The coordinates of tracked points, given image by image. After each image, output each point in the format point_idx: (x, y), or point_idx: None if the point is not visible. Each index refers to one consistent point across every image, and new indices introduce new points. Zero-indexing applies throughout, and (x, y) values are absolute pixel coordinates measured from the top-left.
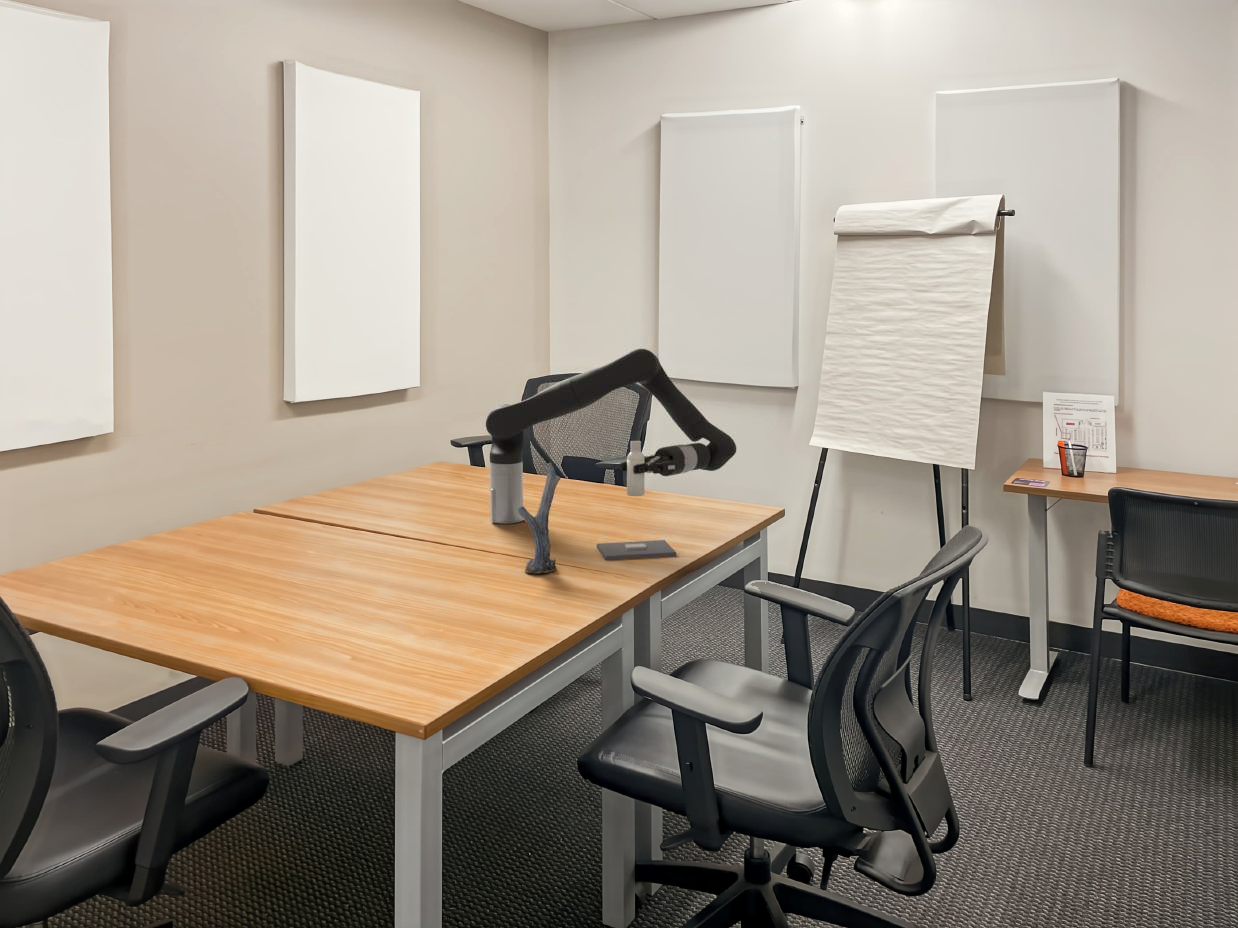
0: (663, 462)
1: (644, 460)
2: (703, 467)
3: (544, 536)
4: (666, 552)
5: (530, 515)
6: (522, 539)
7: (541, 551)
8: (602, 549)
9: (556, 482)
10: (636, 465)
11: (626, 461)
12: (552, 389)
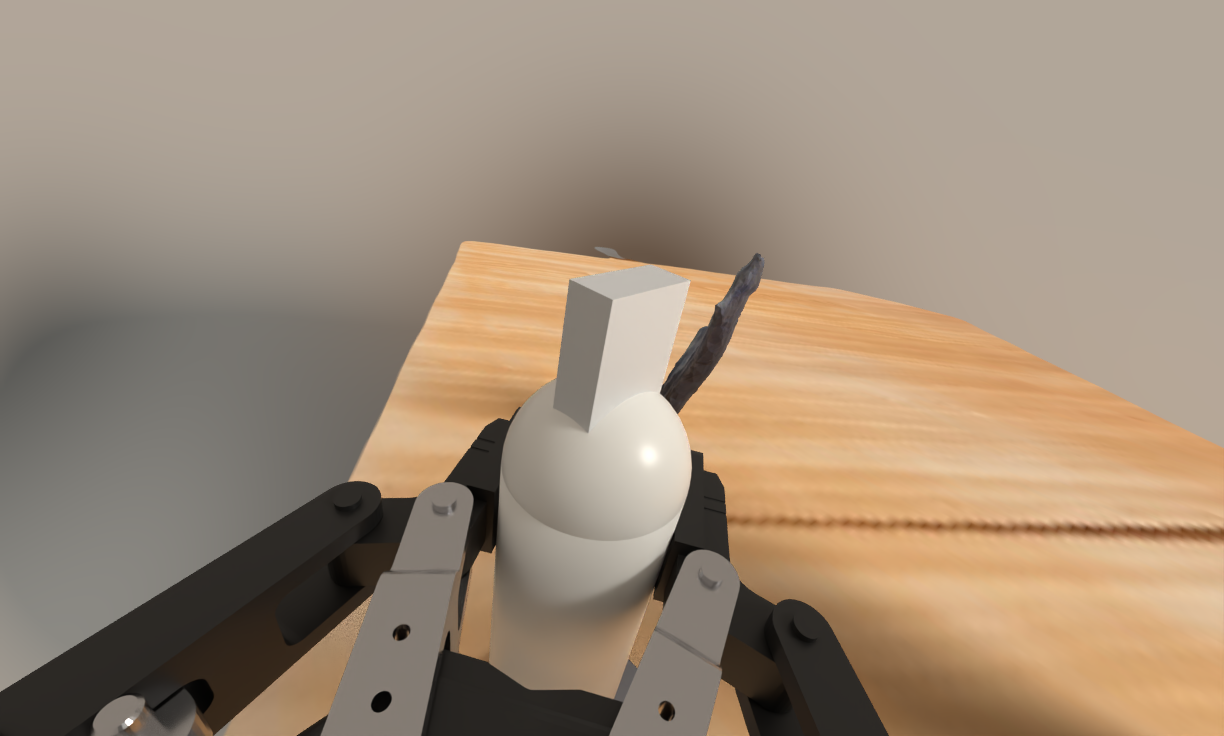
0: (218, 615)
1: (506, 497)
2: None
3: None
4: None
5: (688, 349)
6: (967, 680)
7: None
8: (633, 674)
9: (713, 315)
10: (517, 409)
11: (697, 495)
12: None
